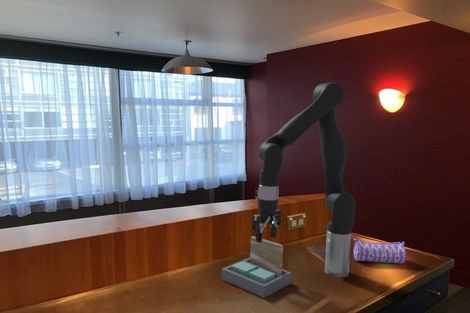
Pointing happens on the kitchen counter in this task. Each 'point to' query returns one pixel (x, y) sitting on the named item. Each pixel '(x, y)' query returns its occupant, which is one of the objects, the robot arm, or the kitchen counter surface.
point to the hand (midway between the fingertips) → (266, 239)
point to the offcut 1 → (243, 268)
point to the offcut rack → (253, 285)
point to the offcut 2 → (261, 275)
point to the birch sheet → (266, 255)
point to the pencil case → (379, 252)
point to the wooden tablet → (318, 252)
